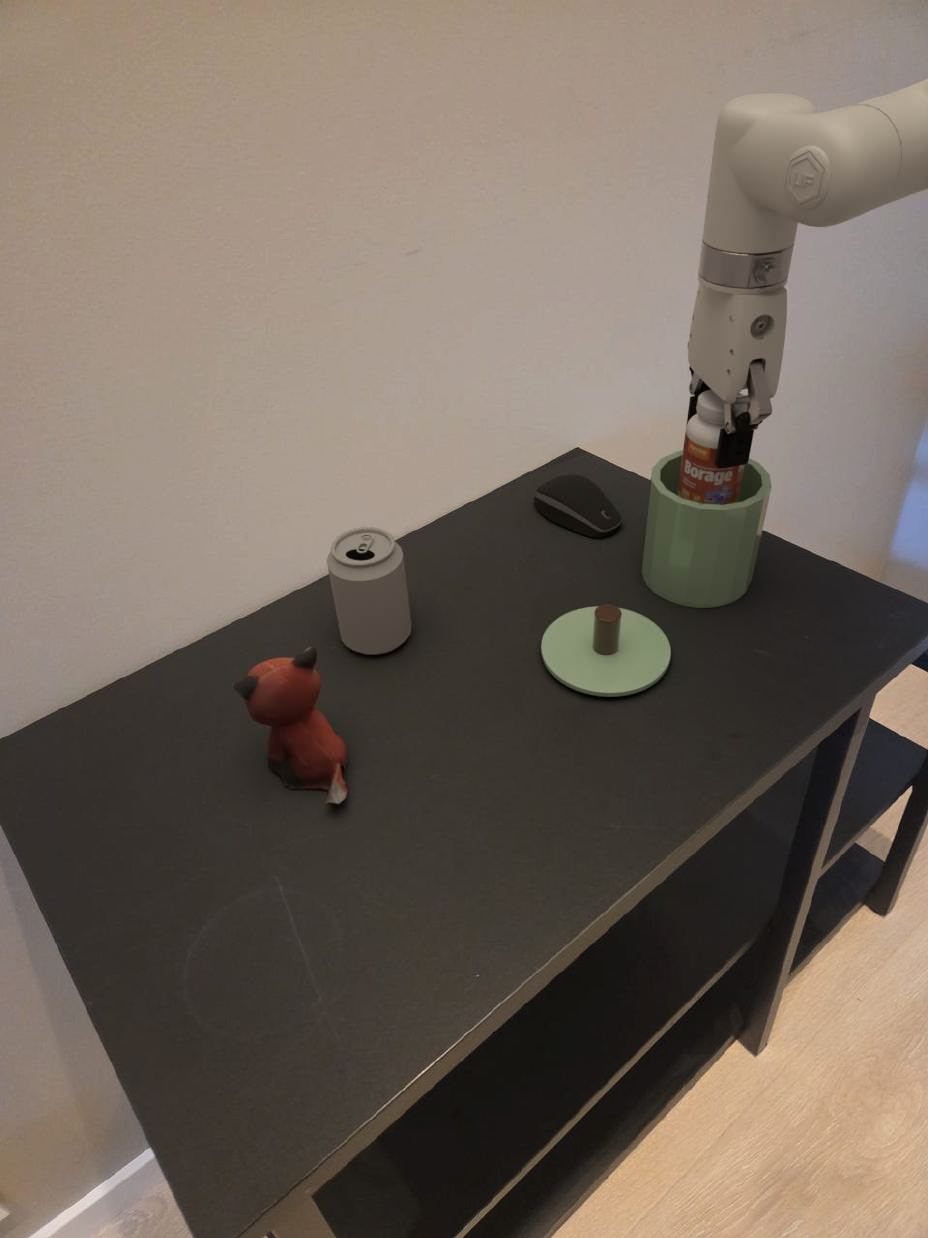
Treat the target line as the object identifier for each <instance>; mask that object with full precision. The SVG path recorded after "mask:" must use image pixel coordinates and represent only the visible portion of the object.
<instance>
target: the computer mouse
mask: <svg viewBox="0 0 928 1238" xmlns="http://www.w3.org/2000/svg"><path fill="white" fill-rule="evenodd" d="M533 503H534V506H535V508H536V509H537V511H538V512H539V513H540V514H541V515H542V516H544V517H545V518H546V519H548V520H549V521H551V522H552V523H555V524H557V525H558V526H561V527H563V528H566V529H568V530H570V531H573V532H575V533H578V534H581V535H583V536H587V537H590V538H593V539H603V538H607V537H609V536H611V535H613V534H614V533H616V532H617V531H619V530H620V529H621V527H622V525H623V517H622V515H621V513H620V512H619V511H618V509H617V508H616V507H615V505H614V504H613V503H612V501H611V500H610V499H609V498H608V497H607V495H606V494H605V493H604V492H603V490H602V489H601V488H600V487H599V486H598V485H597V484H596V483H595V482H594V481H593V480H591V479H589V478H588V477H586V476H584V475H580V474H575V473H569V474H563V475H560V476H556V477H554V478H552V479H550V480H548V481H546V482H544V483H542V484H541V485H540V486H539V487H538V488H537V489H536V490H535V493H534V495H533Z"/></svg>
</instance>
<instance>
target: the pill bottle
mask: <svg viewBox="0 0 928 1238" xmlns="http://www.w3.org/2000/svg"><path fill="white" fill-rule="evenodd" d="M743 395H744V394H743V393H741V392H738V393H737V396H743ZM735 408H736V417H737V416H738V415H740V414H741V413H742V412H746V411H747V403H742V404H736V405H735ZM696 410H697V414H695V415H694V416H693V417H692V418H691V419H690V420H689V421H688V424H687V423H686V425H687V427H685V432H684V440H683V448H682V450H683V454H682V461H681V469H680V476H679V483H678V496H679V497H681V498H683V499H686V500H690V501H694V502H697V503H701V504H716V505H725V504H731V503H736V502H737V500H738V497H739V492H740V487H741V482H742V476H743V471H744V466H745V465H739V466H733V467H726V468H718V467H717V466H716V465H715V460H716V454H717V448H718V441H719V435H720V429H724V428H725V412H724V400H723V399H721V398H720V397H719V396H718V395H717V394H716V393H715V392H714V391H713V390H712V389H711V390H707V391H705V392H703V393H701V394H700V395H699V397H698V401H697V406H696Z"/></svg>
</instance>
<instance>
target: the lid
mask: <svg viewBox="0 0 928 1238" xmlns="http://www.w3.org/2000/svg"><path fill="white" fill-rule="evenodd" d="M541 638H542V639H541V641H540V642H541V644H540V645H541V646H540V653H541V658H542V661H543V663H544V666H545V668H546V669H547V671H548V672H549V673H550V674H551V675H552V676H553V677H554V679H556V680H557V681H558V682H560V684H562V685H564V686H566V687H568V688H569V689H572V690H574V691H576V692H579V693H582V694H585V695H590V696H595V697H605V698H612V697H613V698H614V697H615V698H616V697H624V696H630V695H634V694H637V693H641V692H643V691H645V690H648V689H649V688H651V687H652V686H654V685H655V684H657V683H658V682H659V681H660V680H661V679H662V678H663V677H664V675H665V674H666V673H667V670H668V669H669V666H670V663H671V658H672V657H671V656H672V651H671V650H672V649H671V644H670V641H669V639H668V637H667V635H666V634H665V632H664V631H663V630H662V628H660V626H659V625H657V624H656V623H655V622H654V621H652V620H651V619H649V618H648V617H646V616H645V615H642V614H640V613H638V612H635V611H633V610H630V609H626V608H622V607H618V606H616V605H615V604H609V603H605V604H601V605H597V606H596V605H595V606H586V607H582V608H578V609H577V608H576V609H574V610H571V611H569V612H567V613H564V614H563V615H561V616H559V617H558V618H557V619H555V620H554V621H553V622H551V624H550V625H549V626H548V627H547V628H546V630H545V631H544V634H543V635H542V637H541Z"/></svg>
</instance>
